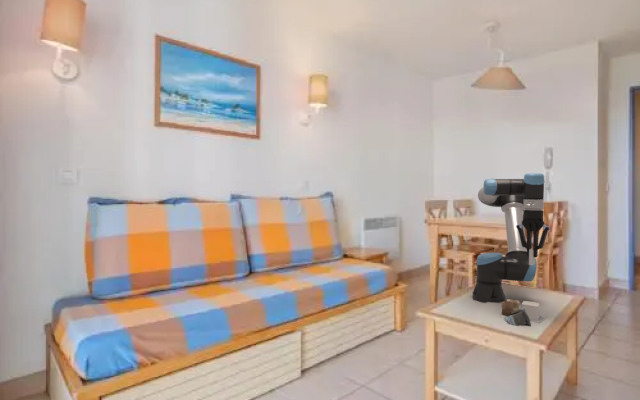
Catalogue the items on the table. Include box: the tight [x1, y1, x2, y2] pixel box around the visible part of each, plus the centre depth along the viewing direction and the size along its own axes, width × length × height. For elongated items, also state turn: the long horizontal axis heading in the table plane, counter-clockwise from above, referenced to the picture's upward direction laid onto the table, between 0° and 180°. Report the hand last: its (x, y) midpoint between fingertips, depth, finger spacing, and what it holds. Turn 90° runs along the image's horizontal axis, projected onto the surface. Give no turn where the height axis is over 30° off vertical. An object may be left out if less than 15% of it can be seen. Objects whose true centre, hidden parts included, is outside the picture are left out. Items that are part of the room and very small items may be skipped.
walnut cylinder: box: [501, 300, 513, 317], centre depth 162 cm, size 4×4×6 cm
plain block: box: [521, 300, 541, 321], centre depth 159 cm, size 6×6×6 cm
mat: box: [530, 315, 547, 324], centre depth 159 cm, size 10×10×1 cm
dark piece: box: [503, 308, 532, 327], centre depth 153 cm, size 10×7×12 cm
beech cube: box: [506, 298, 520, 312], centre depth 168 cm, size 5×5×5 cm
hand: (531, 264), depth 159 cm, fingers closed
